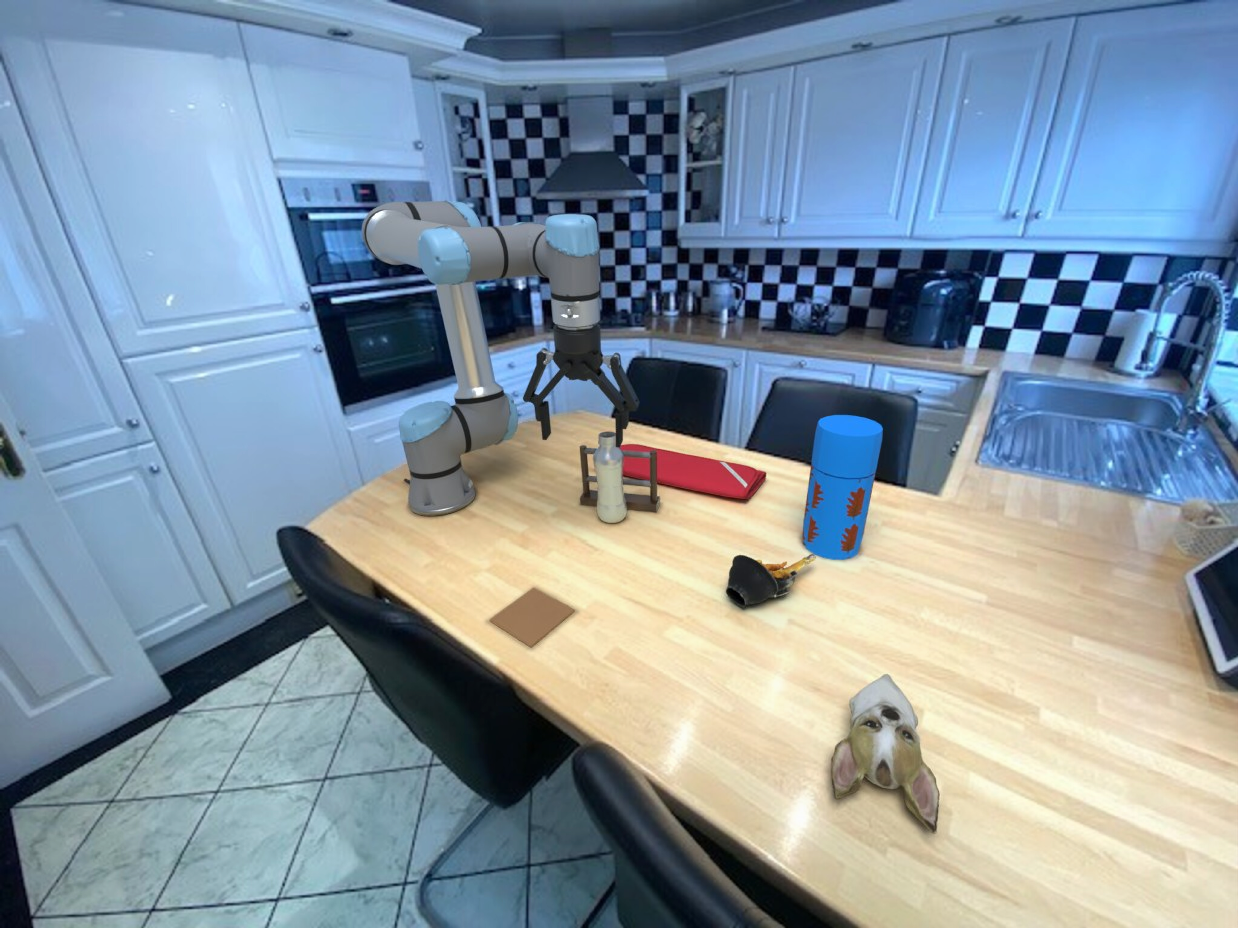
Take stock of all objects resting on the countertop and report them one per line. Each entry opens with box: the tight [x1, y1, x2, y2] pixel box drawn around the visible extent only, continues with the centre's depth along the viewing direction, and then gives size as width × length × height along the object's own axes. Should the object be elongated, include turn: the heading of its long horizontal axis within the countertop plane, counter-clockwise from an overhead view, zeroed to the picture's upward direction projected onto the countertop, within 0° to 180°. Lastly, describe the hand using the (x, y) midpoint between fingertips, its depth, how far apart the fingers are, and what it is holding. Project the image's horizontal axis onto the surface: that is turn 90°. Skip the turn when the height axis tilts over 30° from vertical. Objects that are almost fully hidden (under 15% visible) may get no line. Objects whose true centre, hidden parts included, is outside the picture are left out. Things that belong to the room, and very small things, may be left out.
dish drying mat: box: [619, 443, 767, 500], centre depth 128 cm, size 16×41×4 cm, turn 58°
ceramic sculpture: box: [830, 673, 941, 835], centre depth 58 cm, size 11×9×15 cm
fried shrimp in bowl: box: [725, 553, 817, 608], centre depth 87 cm, size 9×11×18 cm
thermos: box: [801, 414, 884, 561], centre depth 94 cm, size 11×11×25 cm
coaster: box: [489, 587, 576, 648], centre depth 84 cm, size 10×10×1 cm
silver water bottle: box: [592, 431, 628, 524], centre depth 107 cm, size 6×7×20 cm
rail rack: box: [579, 444, 661, 513], centre depth 114 cm, size 18×4×14 cm, turn 75°
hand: (582, 440), depth 92 cm, fingers open, 13 cm apart
